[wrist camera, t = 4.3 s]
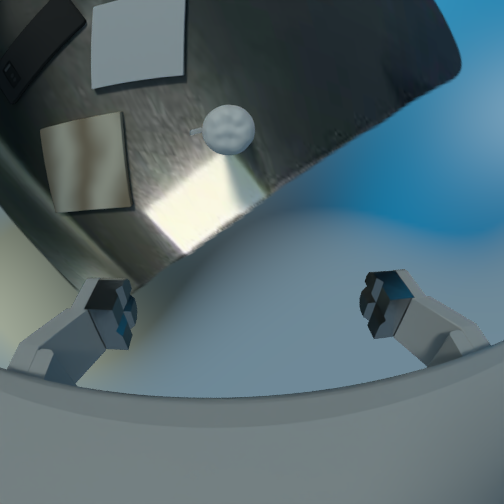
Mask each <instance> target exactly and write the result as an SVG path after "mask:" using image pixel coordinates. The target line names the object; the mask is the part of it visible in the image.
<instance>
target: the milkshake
mask: <svg viewBox="0 0 504 504" xmlns="http://www.w3.org/2000/svg"><path fill="white" fill-rule="evenodd" d="M198 133H202V134H203V139H204V141H205V143H206V144H207V146H208V147H209V148H210V149H212V150H213V151H215V152H216V153H219V154H223V155H235V154H238V153H241V152H243V151H244V150H245V149H246V148H247V147H248V146H249V145H250V144H251V142H252V140H253V138H254V134H255V125H254V121H253V119H252V117H251V116H250V114H249V113H248V112H247V111H246V110H245V109H243V108H241V107H239V106H235V105H223V106H219V107H217V108H215V109H214V110H212V111H211V112H210V113H209V114H208V115H207V116H206V118H205V120H204V122H203V127H201V128H197V129H193V130H190V136H191V135H195V134H198Z"/></svg>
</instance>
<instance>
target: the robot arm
mask: <svg viewBox="0 0 504 504" xmlns="http://www.w3.org/2000/svg"><path fill="white" fill-rule="evenodd" d="M365 283H366V285H367V287H366V288H365V289H364V290H363V291H362V292H361V295H360V310H361V313H362V315H363V317H365V318H366V319H367V320H369V322H368V328H369V330H370V332H371V334H372V336H373V338H374V339H378V338H386V337H392V336H394V338H395V339H396V340H397V341H398V342H400V343H401V344H402V345H403V346H404V347H405V348H407V349H408V350H409V351H410V352H411V353H412V354H413V355H415V356H416V357H417V358H418V359H419V360H420V361H422V362H423V363H424V364H425V365H426V366H427V368H425V369H421V370H418V371H414V372H410V373H406V374H402V375H398V376H394V377H390V378H386V379H381V380H377V381H372V382H367V383H362V384H356V385H351V386H346V387H340V388H334V389H326V390H319V391H312V392H304V393H295V394H285V395H272V396H258V397H237V398H236V397H235V398H183V397H162V396H147V395H136V394H126V393H118V392H109V391H102V390H95V389H89V388H82V387H77V385H76V384H75V383H76V382H77V381H78V380H79V379H80V378H81V377H82V376H83V375H84V373H85V372H86V371H87V370H88V369H89V368H90V367H91V366H92V365H93V363H95V361H96V360H97V359H98V358H99V357H100V356H101V355H102V354H103V353H104V352H105V350H106V349H120V350H128V349H129V345H130V341H131V338H132V333H131V330H130V329H131V328H132V327H133V326H135V324H136V320H137V305H136V301H135V298H134V297H132V296H131V295H130V292H131V289H132V287H131V284H130V281H129V280H128V279H123V278H88V279H86V281H85V283H84V284H83V286H82V288H81V290H80V292H79V293H78V295H77V297H76V299H75V301H74V303H73V305H72V307H71V309H65V310H64V311H63V312H61V313H60V314H58V315H57V316H56V317H54V318H53V319H51V320H50V321H49V322H47V323H46V324H45V325H43V326H42V327H41V328H39V329H38V330H36V331H35V332H34V333H32V334H31V335H30V336H28V337H27V338H26V339H24V340H23V341H22V342H20V344H19V346H18V347H17V349H16V352H15V354H14V356H13V358H12V360H11V362H10V364H9V366H8V368H7V370H6V369H3V368H0V504H504V341H502V342H499V343H497V344H495V345H492V346H491V345H490V344H489V342H488V340H487V339H486V337H485V336H484V334H483V333H482V331H481V330H480V328H479V327H478V326H477V324H476V323H474V322H472V321H471V320H469V319H467V318H466V317H464V316H462V315H461V314H459V313H457V312H456V311H454V310H452V309H451V308H449V307H447V306H446V305H444V304H442V303H440V302H439V301H437V300H435V299H434V298H432V297H430V296H426V295H425V294H424V292H423V291H422V290H421V288H420V287H419V286H418V284H417V283H416V282H415V280H414V279H413V278H412V276H411V275H410V274H409V272H408V271H406V270H405V269H402V270H393V271H381V272H369V273H368V275H367V276H366V279H365Z"/></svg>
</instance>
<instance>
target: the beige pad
mask: <svg viewBox="0 0 504 504" xmlns="http://www.w3.org/2000/svg"><path fill="white" fill-rule="evenodd" d="M40 135H41V142H42V149H43V155H44V161H45V167H46V172H47V177H48V182H49V187H50V191H51V196H52V200H53V204H54V208H55V212H56V213H61V212H71V211H82V210H94V209H107V208H120V207H131V206H132V197H131V190H130V183H129V176H128V168H127V160H126V150H125V140H124V129H123V115H122V112H116V113H110V114H105V115H99V116H94V117H89V118H84V119H79V120H75V121H70V122H66V123H62V124H58V125H54V126H50V127H47V128H43V129H40Z"/></svg>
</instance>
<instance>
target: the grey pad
mask: <svg viewBox="0 0 504 504" xmlns="http://www.w3.org/2000/svg"><path fill="white" fill-rule="evenodd" d="M185 14H186V0H118V1H114V2H110V3H106V4H103V5H99V6H96V7H93V19H92V39H91V81H92V89H96V88H100V87H105V86H110V85H115V84H121V83H126V82H133V81H139V80H146V79H154V78H162V77H172V76H183V75H184V49H185Z"/></svg>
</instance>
